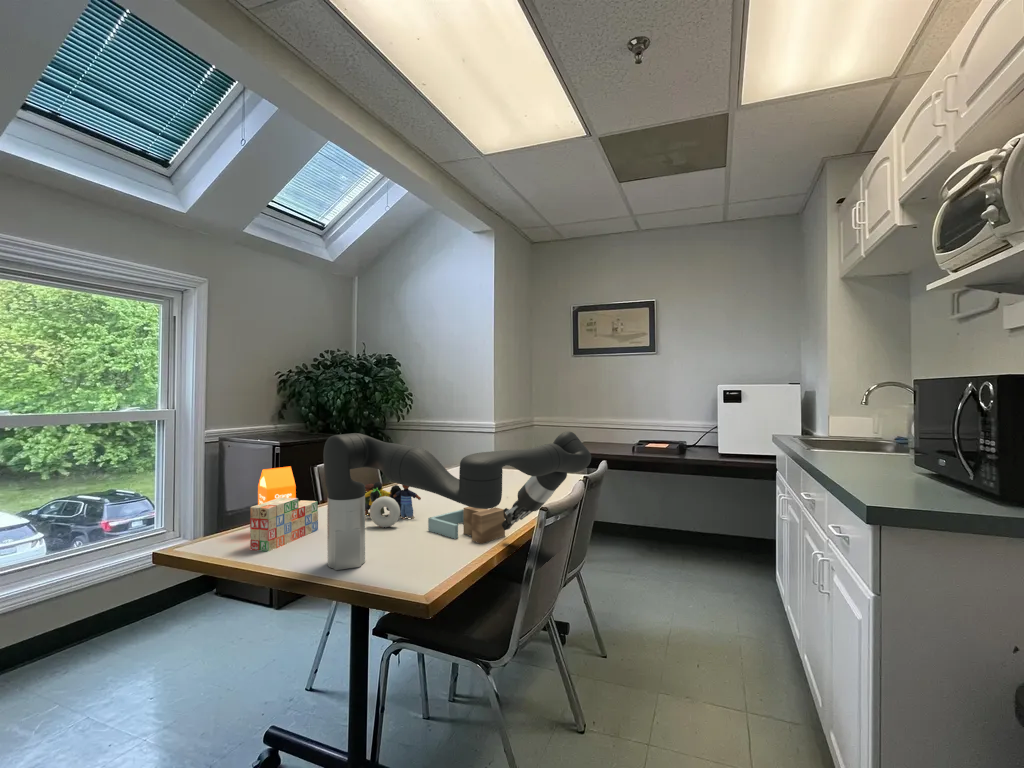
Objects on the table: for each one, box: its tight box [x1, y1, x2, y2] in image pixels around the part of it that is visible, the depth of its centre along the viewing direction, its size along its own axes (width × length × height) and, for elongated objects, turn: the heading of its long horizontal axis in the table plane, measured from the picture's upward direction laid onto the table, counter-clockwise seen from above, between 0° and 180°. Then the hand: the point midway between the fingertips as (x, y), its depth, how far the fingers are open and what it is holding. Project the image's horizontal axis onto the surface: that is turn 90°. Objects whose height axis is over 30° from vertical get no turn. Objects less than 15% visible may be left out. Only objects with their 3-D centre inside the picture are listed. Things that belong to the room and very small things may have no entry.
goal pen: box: [427, 508, 464, 540], centre depth 155 cm, size 13×14×4 cm
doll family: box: [365, 481, 422, 519], centre depth 171 cm, size 23×9×13 cm, turn 91°
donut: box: [369, 496, 401, 528], centre depth 158 cm, size 10×4×10 cm, turn 84°
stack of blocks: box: [249, 497, 319, 552], centre depth 146 cm, size 21×6×12 cm, turn 165°
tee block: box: [463, 506, 506, 544], centre depth 149 cm, size 11×10×8 cm
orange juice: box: [257, 465, 297, 505], centre depth 154 cm, size 8×9×20 cm
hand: (504, 527), depth 142 cm, fingers closed
